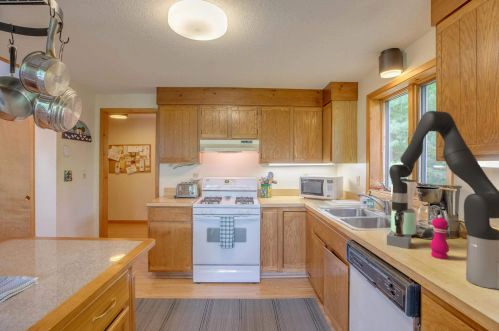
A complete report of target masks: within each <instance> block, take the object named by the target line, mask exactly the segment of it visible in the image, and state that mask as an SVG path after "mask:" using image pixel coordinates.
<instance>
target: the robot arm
mask: <svg viewBox="0 0 499 331" xmlns="http://www.w3.org/2000/svg"><path fill="white" fill-rule="evenodd" d="M420 117H421V118H420V119H419V121H418V123H417V125H416V128H415V130H414V132H413V135H412V138H411V140H410V142H409V144H408V145H407V147H406V149H405V150H404V152H403V153H402V155H401V157H400V162H401V163H402V164H392V165H391V166H390V168H389V171H388V172H389V173H388V174H389V177H390V181H391V186H392V185H393V193H392V197H391V210H392V209H393V210H396V213H395V216H394V217H395V226H396V233H398V234H400V233H401V223H402V222H403V223H404V213H403V211H407V210H408V194H407V192H408V186H407V183H405V182H402V181H401V178H408V177H410V176H411V174H413V171H414V168H415V164H416V162H417V161H418V159H420V157H421V155H422V154H423V152H424V139H425V138H426V136H427V135H428V134H429V133H430V132H435V133H436V132H437V133H438V134H439V135H440V136H441V137H442V140H443V142H444V145H443V150H442V157H443V159H444V161H445V164H446V165H447V167H448V169H449V171H450V172H452V173H453V174H454V175H455V176H456V177H458V178H459V179H460V180H461V181H463V182H464V183H466V184H467V185H468V186H469V187H470V188H471V190H472V191H473V192H474V193H471V194H468V195H467V196H466V197H465V199H464V202H463V218H464V220H463V222H464V227H465V229H466V258H465V260H466V262H465V264H466V265H465V266H466V268H465V269H466V270H465V272H466V273H465V279H466V280H467V282H469V283H471V284H473V285H476V286H479V287H482V288H488V289H495V290H496V289H497V290H499V229H497V228H493V227H492V226H491V222H490V219H499V190H498V189H497V187H496V186H495V185H494V183H493V182H492V181H491V180H490V178H489V177H488V176H487V175H486V172H485V171H484V170H483V168H482V167H481V166H480V164H479V162H478V161H477V158H476V157H475V155H474V153H473V152H472V150H471V149H470V148H469V146H468V145H467V143H466V141H465V140H464V138H463V137H462V135H461V133H460V131H459V128H458V127H457V125H456V121H455V120H454V118H453V116H452V115H451V113H449V112H446V111H439V110H429V111H426V112H424V114H423V115H422V116H420ZM400 220H401V221H400ZM397 222H398V223H399V224H397Z"/></svg>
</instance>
